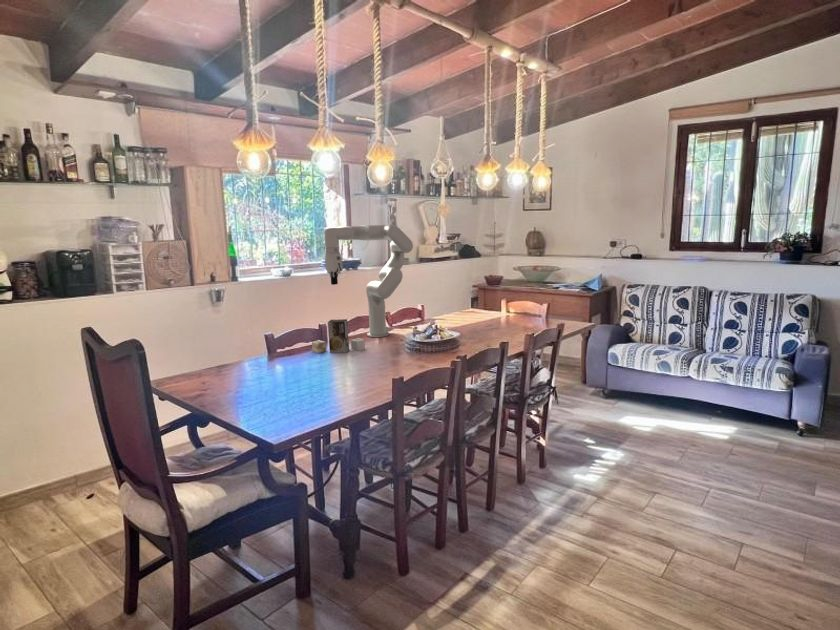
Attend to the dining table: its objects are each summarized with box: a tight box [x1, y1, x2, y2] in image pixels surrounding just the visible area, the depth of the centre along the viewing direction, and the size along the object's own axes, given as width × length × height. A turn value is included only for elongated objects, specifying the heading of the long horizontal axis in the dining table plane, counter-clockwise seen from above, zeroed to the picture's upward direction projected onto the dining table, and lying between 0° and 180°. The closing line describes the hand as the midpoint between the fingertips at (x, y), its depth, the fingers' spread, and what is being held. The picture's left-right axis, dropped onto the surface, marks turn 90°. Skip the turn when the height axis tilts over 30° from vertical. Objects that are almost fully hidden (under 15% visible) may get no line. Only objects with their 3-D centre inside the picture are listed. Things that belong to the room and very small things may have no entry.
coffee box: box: [327, 318, 350, 353], centre depth 274 cm, size 9×6×16 cm
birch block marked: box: [311, 340, 327, 354], centre depth 276 cm, size 5×5×5 cm
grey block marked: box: [350, 337, 366, 351], centre depth 279 cm, size 5×5×5 cm
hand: (334, 284), depth 291 cm, fingers closed
